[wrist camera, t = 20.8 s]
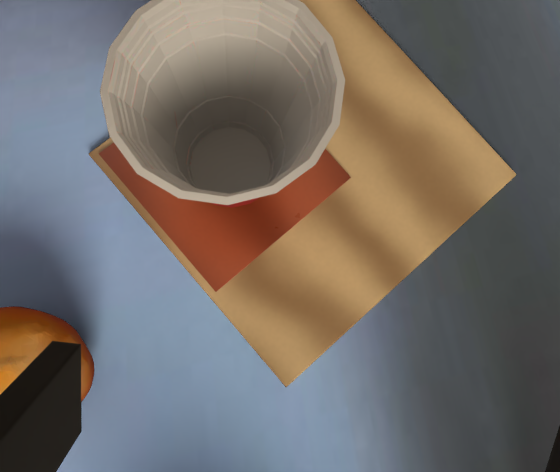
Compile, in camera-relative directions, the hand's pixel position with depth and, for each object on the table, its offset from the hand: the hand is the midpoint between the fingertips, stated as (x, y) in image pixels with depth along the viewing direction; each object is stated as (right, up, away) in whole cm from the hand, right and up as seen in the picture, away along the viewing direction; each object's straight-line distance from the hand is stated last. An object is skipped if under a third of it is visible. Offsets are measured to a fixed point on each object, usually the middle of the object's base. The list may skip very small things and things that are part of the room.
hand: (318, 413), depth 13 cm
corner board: (+1, +10, +21) cm, 23 cm away
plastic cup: (-5, +9, +20) cm, 23 cm away
